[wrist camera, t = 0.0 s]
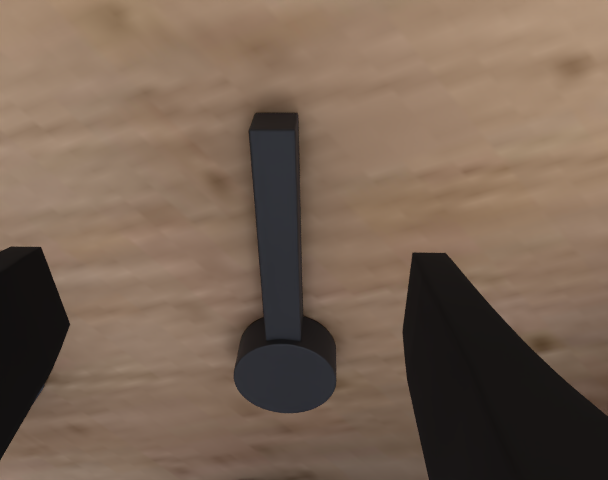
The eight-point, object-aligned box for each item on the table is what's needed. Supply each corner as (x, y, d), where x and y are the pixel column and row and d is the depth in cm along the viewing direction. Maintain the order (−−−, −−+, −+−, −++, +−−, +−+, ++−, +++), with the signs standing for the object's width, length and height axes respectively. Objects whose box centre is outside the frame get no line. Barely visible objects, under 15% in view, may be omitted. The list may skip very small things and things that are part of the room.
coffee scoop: (211, 111, 18) (199, 132, 17) (342, 111, 18) (343, 133, 17) (244, 380, 27) (238, 412, 25) (335, 382, 26) (335, 415, 25)
